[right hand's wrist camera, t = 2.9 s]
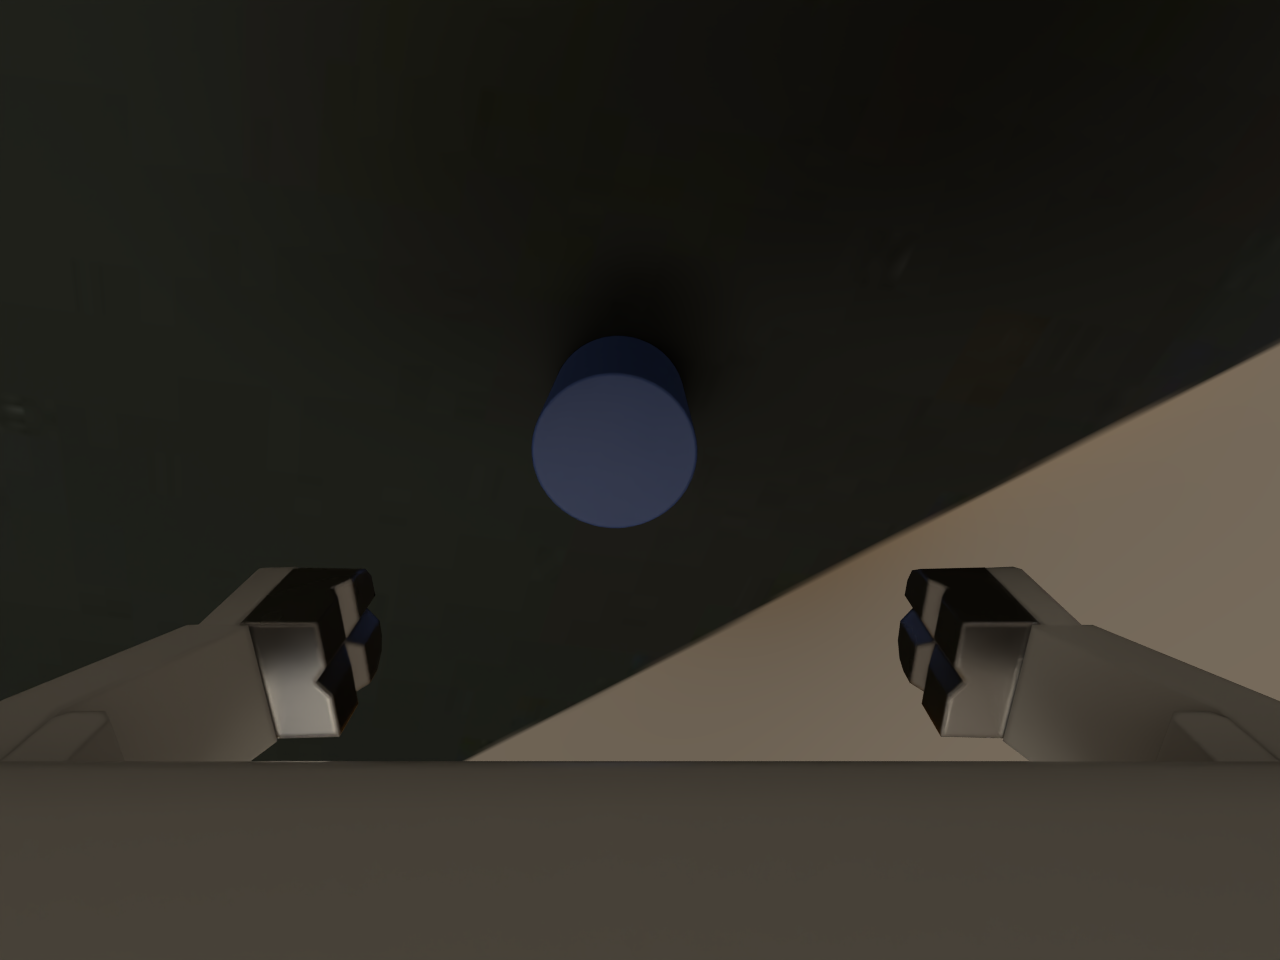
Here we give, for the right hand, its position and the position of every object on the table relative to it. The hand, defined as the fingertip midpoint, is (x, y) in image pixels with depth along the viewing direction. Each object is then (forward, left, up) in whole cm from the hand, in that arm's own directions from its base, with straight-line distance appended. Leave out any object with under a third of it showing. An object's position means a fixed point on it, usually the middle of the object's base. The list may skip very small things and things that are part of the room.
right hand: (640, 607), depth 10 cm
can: (+1, 0, -11) cm, 11 cm away
